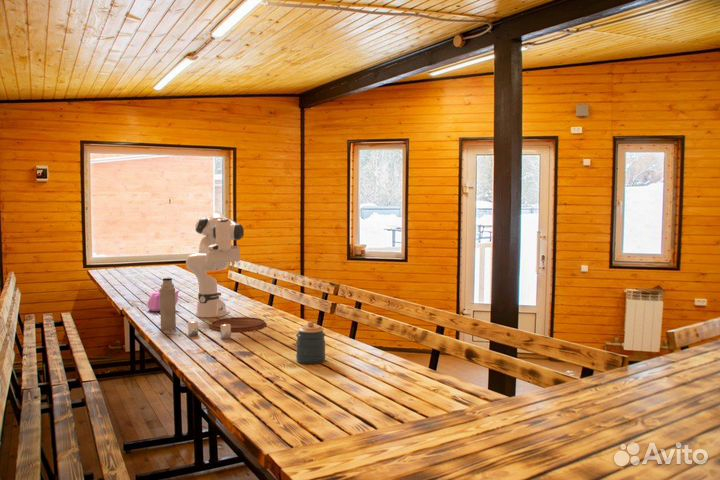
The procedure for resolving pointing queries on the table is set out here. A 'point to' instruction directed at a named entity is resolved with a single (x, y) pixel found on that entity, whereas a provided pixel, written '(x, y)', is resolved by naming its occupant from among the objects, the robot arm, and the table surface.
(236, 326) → the cutting board
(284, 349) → the table surface
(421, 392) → the table surface
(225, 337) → the bench dogs
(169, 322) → the thermos bottle
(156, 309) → the teapot
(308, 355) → the canister
